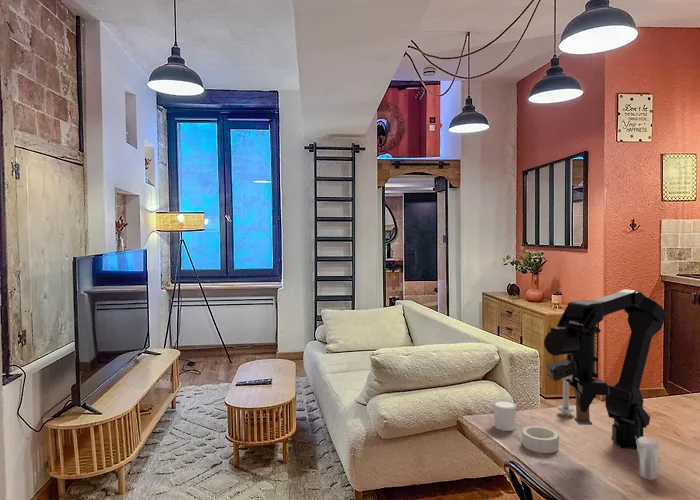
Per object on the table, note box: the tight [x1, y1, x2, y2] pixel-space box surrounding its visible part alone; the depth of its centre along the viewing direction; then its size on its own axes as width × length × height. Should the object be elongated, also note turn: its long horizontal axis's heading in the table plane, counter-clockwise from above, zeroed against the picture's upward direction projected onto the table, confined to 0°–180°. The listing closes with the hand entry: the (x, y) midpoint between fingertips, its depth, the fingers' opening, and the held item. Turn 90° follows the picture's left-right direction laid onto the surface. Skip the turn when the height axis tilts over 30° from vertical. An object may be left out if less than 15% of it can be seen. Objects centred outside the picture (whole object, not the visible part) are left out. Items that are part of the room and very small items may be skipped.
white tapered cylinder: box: [492, 400, 518, 432], centre depth 142 cm, size 7×7×7 cm
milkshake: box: [635, 436, 660, 481], centre depth 112 cm, size 4×5×10 cm
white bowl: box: [521, 425, 560, 454], centre depth 129 cm, size 9×9×4 cm
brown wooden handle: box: [574, 390, 593, 426], centre depth 122 cm, size 3×3×9 cm
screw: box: [557, 376, 575, 417], centre depth 150 cm, size 13×5×5 cm
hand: (582, 410), depth 122 cm, fingers closed on brown wooden handle
